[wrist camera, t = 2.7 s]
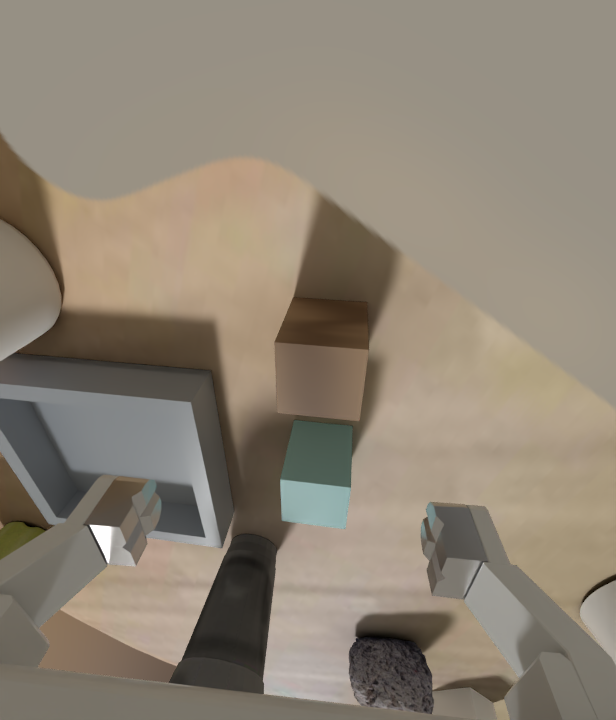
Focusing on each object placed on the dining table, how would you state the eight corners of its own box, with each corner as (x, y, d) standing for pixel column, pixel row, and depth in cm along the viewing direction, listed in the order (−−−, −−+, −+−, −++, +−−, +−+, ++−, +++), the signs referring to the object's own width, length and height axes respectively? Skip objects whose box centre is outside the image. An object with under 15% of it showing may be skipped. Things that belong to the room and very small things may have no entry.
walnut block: (367, 302, 19) (368, 349, 14) (359, 364, 21) (359, 421, 17) (293, 296, 19) (274, 342, 15) (293, 358, 21) (277, 413, 17)
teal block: (352, 425, 24) (350, 487, 19) (348, 465, 26) (345, 529, 22) (294, 419, 24) (280, 479, 20) (294, 459, 26) (281, 520, 22)
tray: (211, 370, 22) (190, 402, 20) (234, 512, 31) (222, 548, 28) (-3, 351, 24) (-49, 378, 21) (74, 491, 32) (48, 524, 29)
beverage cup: (244, 515, 31) (107, 965, 14) (306, 552, 33) (251, 985, 16) (203, 543, 34) (54, 930, 18) (261, 575, 36) (177, 950, 20)
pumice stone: (341, 623, 45) (407, 673, 44) (320, 695, 39) (396, 755, 38) (383, 597, 40) (460, 653, 39) (367, 676, 33) (458, 746, 32)
